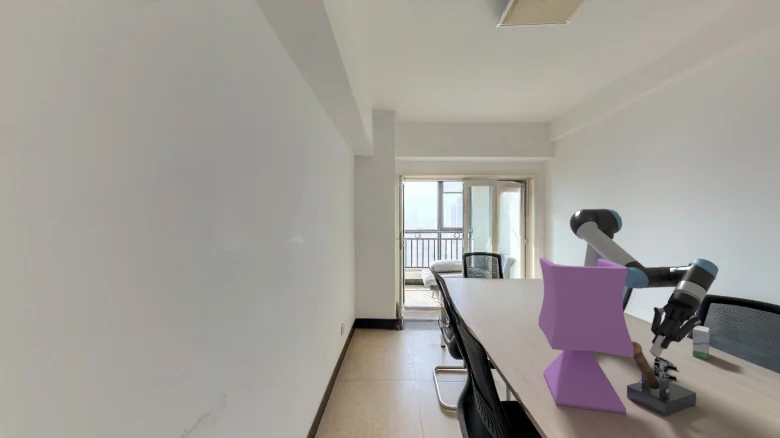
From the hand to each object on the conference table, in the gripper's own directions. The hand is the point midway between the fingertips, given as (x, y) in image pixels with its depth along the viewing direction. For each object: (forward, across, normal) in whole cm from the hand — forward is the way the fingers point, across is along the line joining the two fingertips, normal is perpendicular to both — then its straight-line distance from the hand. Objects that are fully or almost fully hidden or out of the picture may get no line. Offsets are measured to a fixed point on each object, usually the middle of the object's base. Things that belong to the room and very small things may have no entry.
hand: (653, 354), depth 104 cm
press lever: (+7, 0, -8) cm, 10 cm away
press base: (+9, 0, -14) cm, 16 cm away
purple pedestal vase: (+23, +13, 0) cm, 27 cm away
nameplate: (-6, +13, -30) cm, 33 cm away
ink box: (-29, +16, -53) cm, 63 cm away
